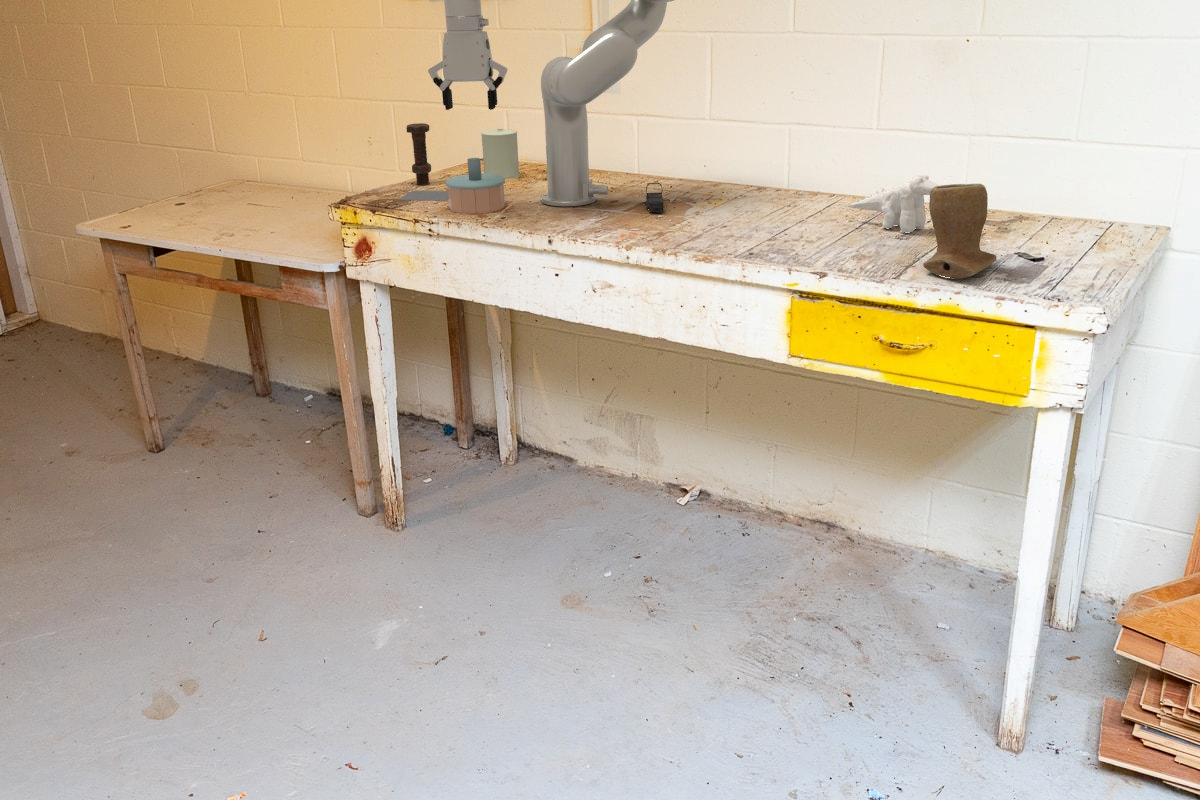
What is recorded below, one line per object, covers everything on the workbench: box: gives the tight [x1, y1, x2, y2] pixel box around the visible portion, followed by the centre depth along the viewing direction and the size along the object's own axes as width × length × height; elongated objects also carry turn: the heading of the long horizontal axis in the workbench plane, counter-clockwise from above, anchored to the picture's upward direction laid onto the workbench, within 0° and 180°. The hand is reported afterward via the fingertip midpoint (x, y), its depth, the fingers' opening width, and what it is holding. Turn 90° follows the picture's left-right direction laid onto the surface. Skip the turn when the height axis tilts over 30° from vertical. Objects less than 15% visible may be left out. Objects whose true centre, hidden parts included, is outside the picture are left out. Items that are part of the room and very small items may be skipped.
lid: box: [445, 157, 506, 189], centre depth 231 cm, size 13×13×5 cm
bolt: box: [405, 122, 432, 186], centre depth 257 cm, size 6×5×15 cm
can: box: [480, 128, 521, 180], centre depth 266 cm, size 9×9×12 cm
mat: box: [397, 190, 449, 202], centre depth 247 cm, size 12×10×1 cm
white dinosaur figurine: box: [844, 174, 940, 233], centre depth 208 cm, size 7×24×11 cm, turn 45°
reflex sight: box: [644, 182, 665, 213], centre depth 230 cm, size 4×10×5 cm, turn 0°
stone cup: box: [922, 183, 997, 280], centre depth 180 cm, size 15×12×15 cm
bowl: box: [447, 184, 506, 215], centre depth 234 cm, size 12×12×6 cm
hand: (470, 108), depth 226 cm, fingers open, 9 cm apart
